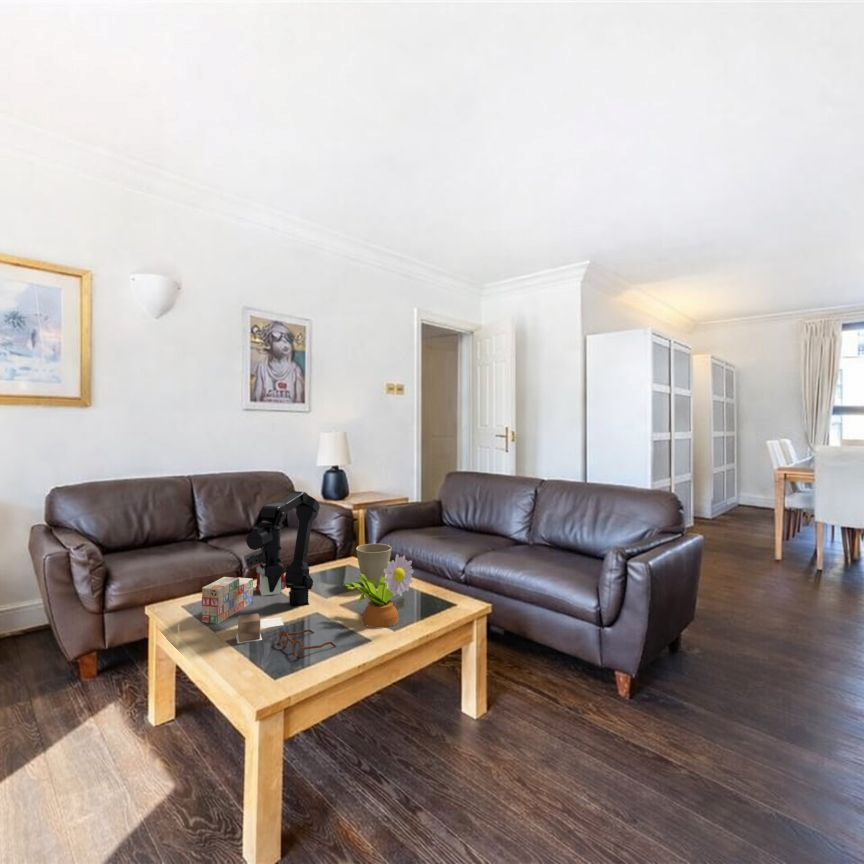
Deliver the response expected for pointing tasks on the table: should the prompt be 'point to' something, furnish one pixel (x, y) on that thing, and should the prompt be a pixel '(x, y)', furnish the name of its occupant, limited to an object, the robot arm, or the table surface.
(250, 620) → the walnut block
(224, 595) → the stack of blocks
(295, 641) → the glasses
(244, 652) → the table surface
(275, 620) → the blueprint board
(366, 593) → the decorative plant
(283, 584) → the toy fire truck
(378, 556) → the plant pot
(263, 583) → the sage block
